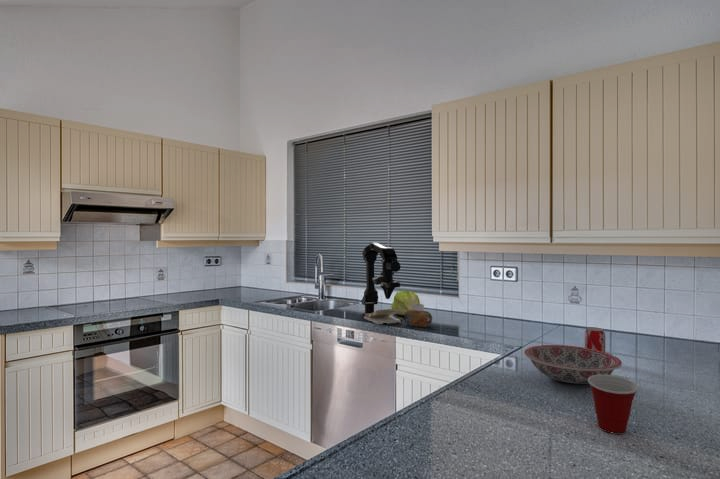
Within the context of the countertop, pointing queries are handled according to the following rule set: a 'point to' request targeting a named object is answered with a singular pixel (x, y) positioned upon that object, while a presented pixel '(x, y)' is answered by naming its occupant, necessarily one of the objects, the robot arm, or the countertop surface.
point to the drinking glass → (418, 307)
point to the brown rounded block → (418, 318)
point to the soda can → (595, 339)
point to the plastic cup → (612, 401)
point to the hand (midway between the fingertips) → (387, 298)
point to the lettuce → (404, 301)
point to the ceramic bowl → (571, 362)
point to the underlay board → (381, 319)
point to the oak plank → (383, 312)
